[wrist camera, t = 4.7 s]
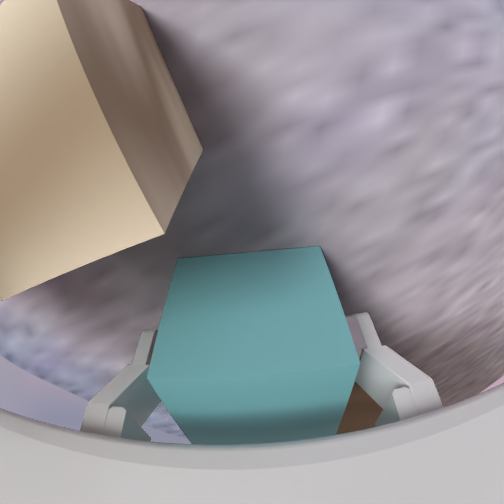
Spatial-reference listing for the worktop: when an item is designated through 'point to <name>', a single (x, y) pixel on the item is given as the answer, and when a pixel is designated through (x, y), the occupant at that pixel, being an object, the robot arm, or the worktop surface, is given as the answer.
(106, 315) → the worktop surface
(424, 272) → the worktop surface
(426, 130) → the worktop surface
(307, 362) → the teal cube
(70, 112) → the birch cube
